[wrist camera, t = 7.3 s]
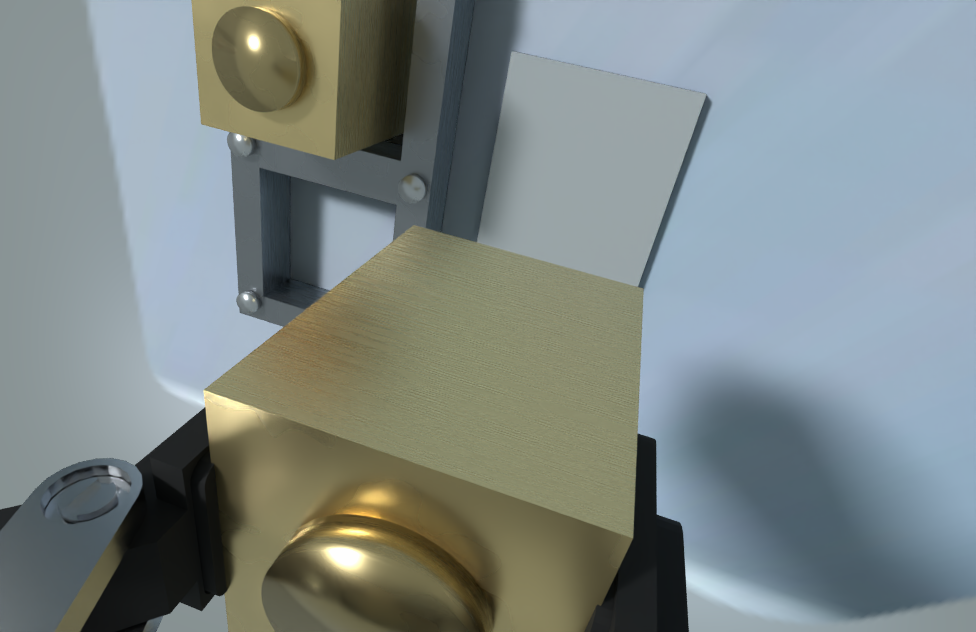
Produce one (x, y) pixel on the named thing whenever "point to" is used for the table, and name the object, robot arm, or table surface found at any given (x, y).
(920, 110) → the table surface
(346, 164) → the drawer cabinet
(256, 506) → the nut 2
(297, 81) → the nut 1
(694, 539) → the table surface
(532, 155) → the mat
